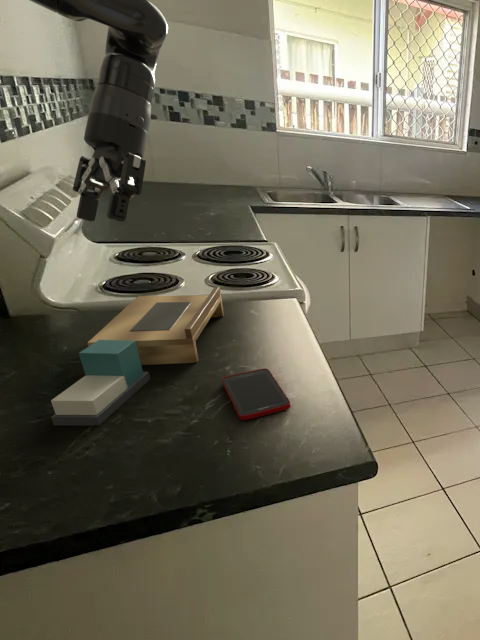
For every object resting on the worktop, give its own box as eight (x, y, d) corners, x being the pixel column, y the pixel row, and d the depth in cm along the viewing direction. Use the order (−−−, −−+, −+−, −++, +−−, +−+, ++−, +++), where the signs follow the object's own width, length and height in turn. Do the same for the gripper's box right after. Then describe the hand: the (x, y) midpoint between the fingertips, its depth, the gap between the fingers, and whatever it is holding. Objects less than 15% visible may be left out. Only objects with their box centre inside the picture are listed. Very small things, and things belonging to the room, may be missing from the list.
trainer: (99, 425, 71) (84, 378, 67) (53, 425, 70) (36, 378, 66) (150, 379, 83) (140, 338, 80) (112, 378, 82) (100, 336, 79)
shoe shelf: (94, 367, 85) (84, 332, 82) (143, 317, 106) (135, 287, 103) (197, 362, 90) (190, 328, 87) (224, 315, 110) (219, 286, 108)
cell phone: (267, 371, 89) (267, 367, 88) (292, 408, 79) (292, 403, 78) (221, 382, 84) (220, 377, 84) (241, 422, 74) (240, 417, 74)
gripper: (67, 114, 76) (46, 212, 75) (119, 105, 71) (98, 211, 69) (119, 137, 83) (102, 227, 82) (171, 131, 77) (152, 227, 76)
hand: (100, 219), depth 76 cm, fingers open, 8 cm apart
